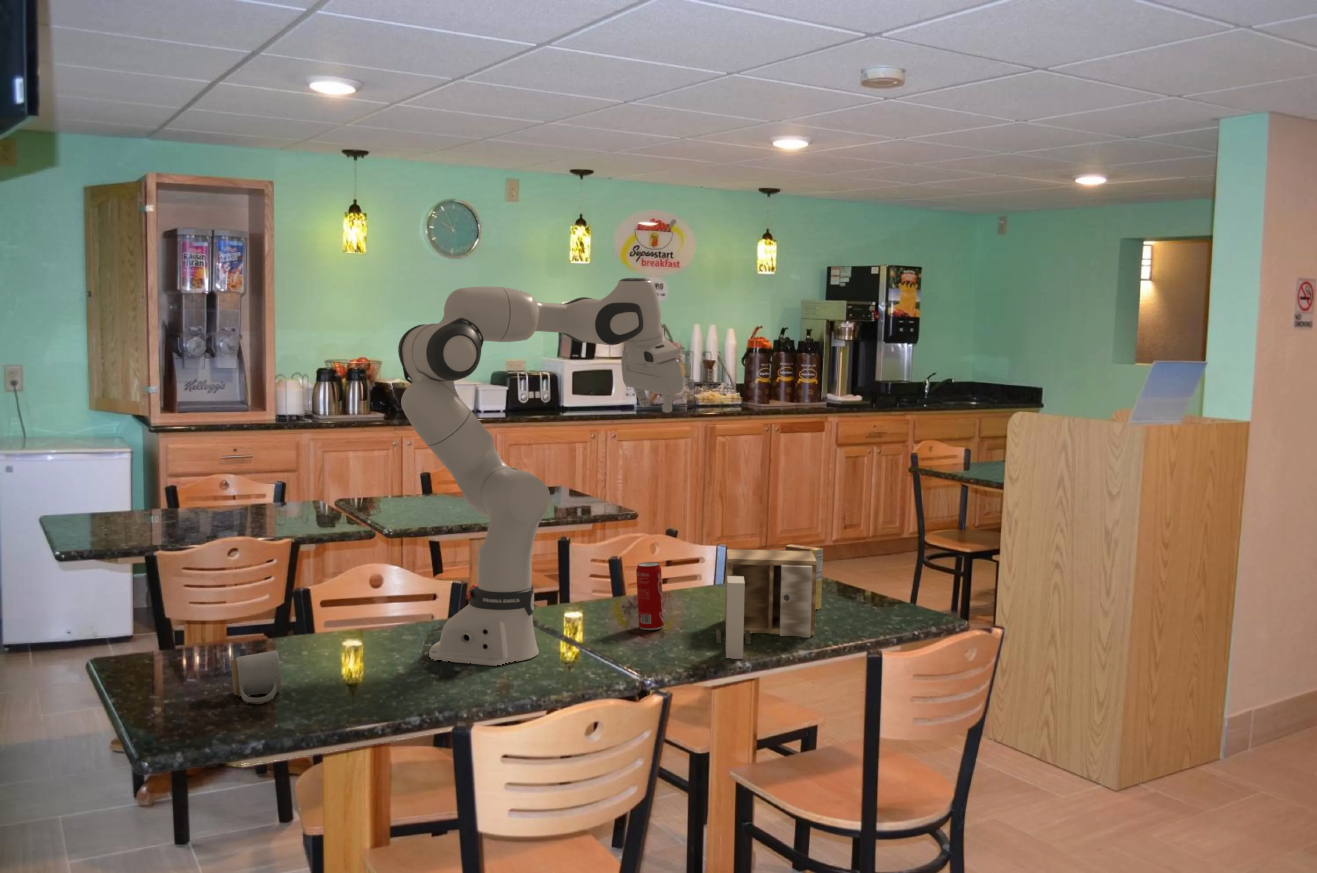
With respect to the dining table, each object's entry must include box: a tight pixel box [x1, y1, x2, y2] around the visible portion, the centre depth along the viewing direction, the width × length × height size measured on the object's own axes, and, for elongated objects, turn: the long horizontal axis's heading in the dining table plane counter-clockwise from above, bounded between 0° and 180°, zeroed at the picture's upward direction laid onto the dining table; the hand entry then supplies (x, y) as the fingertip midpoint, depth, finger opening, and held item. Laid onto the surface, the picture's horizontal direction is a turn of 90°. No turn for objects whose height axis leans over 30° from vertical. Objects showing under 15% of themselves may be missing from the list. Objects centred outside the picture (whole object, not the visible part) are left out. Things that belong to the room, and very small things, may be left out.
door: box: [725, 576, 745, 660], centre depth 236 cm, size 4×7×16 cm, turn 177°
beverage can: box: [635, 561, 665, 631], centre depth 256 cm, size 6×6×15 cm
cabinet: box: [715, 548, 817, 645], centre depth 254 cm, size 22×22×17 cm
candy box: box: [784, 543, 824, 611], centre depth 280 cm, size 9×4×15 cm, turn 55°
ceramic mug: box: [231, 649, 282, 703], centre depth 202 cm, size 11×8×8 cm
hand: (656, 409), depth 251 cm, fingers open, 8 cm apart
